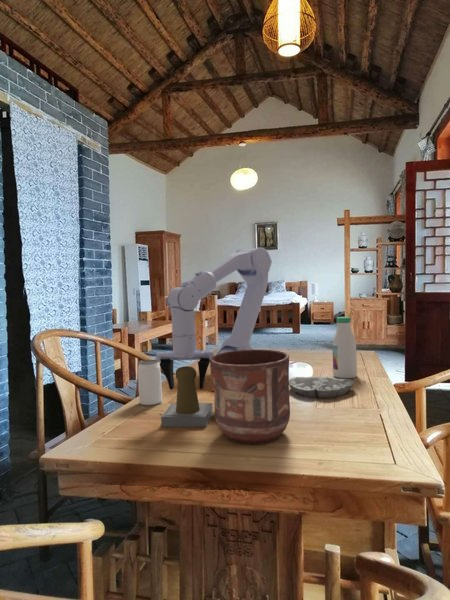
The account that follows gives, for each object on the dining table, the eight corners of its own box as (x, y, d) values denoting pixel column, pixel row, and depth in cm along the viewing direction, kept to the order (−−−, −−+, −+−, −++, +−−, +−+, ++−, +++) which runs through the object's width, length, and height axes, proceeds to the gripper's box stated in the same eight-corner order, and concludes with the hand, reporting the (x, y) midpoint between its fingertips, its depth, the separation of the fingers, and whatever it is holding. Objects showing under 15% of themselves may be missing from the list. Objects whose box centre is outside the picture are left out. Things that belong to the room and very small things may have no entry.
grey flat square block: (212, 412, 120) (212, 402, 120) (206, 426, 109) (205, 416, 109) (172, 412, 121) (171, 403, 121) (161, 426, 110) (161, 416, 110)
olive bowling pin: (189, 415, 110) (187, 370, 109) (170, 411, 113) (168, 368, 113) (204, 408, 115) (202, 365, 114) (186, 405, 118) (183, 363, 118)
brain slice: (280, 399, 130) (280, 389, 130) (293, 384, 146) (293, 375, 146) (351, 403, 123) (351, 392, 123) (356, 387, 139) (356, 377, 139)
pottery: (216, 422, 112) (212, 350, 110) (287, 420, 111) (285, 347, 110) (211, 452, 94) (207, 366, 93) (297, 449, 93) (293, 363, 92)
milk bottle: (359, 374, 154) (358, 316, 152) (353, 380, 147) (351, 318, 146) (337, 372, 158) (335, 315, 156) (330, 377, 151) (328, 318, 150)
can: (157, 406, 128) (155, 364, 127) (136, 405, 129) (133, 364, 128) (165, 399, 134) (163, 359, 133) (144, 399, 136) (142, 359, 135)
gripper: (151, 338, 111) (154, 392, 112) (210, 336, 109) (212, 392, 110) (158, 333, 118) (161, 385, 119) (214, 332, 116) (216, 384, 117)
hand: (186, 388), depth 115 cm, fingers open, 7 cm apart
